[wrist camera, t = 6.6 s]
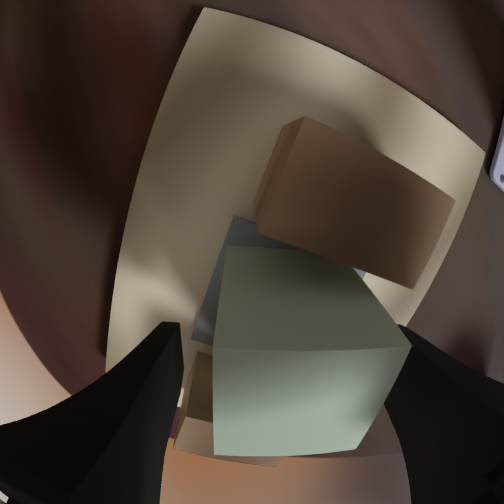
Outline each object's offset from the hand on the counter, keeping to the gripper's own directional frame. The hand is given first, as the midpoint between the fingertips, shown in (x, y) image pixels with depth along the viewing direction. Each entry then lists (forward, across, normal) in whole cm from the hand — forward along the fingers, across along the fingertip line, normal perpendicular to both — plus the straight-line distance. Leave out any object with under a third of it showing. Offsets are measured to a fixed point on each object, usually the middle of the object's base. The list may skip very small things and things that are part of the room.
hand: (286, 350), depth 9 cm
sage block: (+3, 0, 0) cm, 3 cm away
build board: (+5, 0, -1) cm, 5 cm away
